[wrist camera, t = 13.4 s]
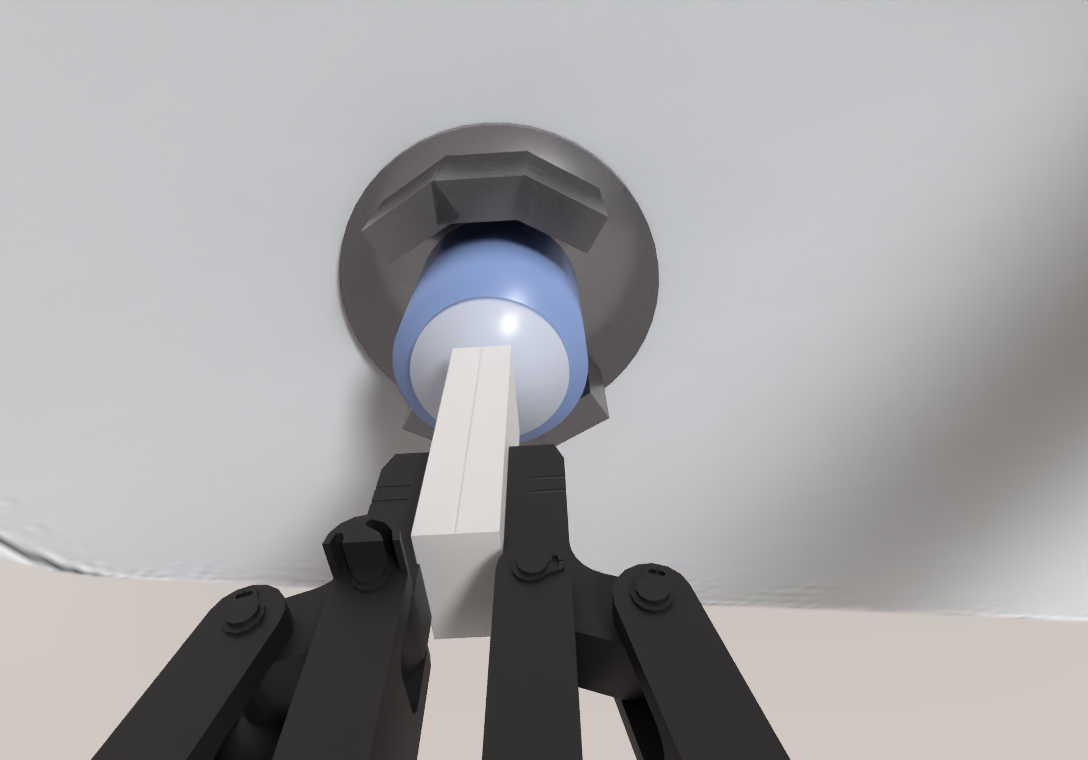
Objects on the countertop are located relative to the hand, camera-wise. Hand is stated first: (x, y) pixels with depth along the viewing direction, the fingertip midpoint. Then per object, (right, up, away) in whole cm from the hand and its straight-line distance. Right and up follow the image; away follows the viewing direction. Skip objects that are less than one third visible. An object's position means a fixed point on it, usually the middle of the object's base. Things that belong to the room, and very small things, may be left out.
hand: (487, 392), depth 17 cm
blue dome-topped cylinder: (0, +3, +5) cm, 6 cm away
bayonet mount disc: (0, +4, +6) cm, 7 cm away
